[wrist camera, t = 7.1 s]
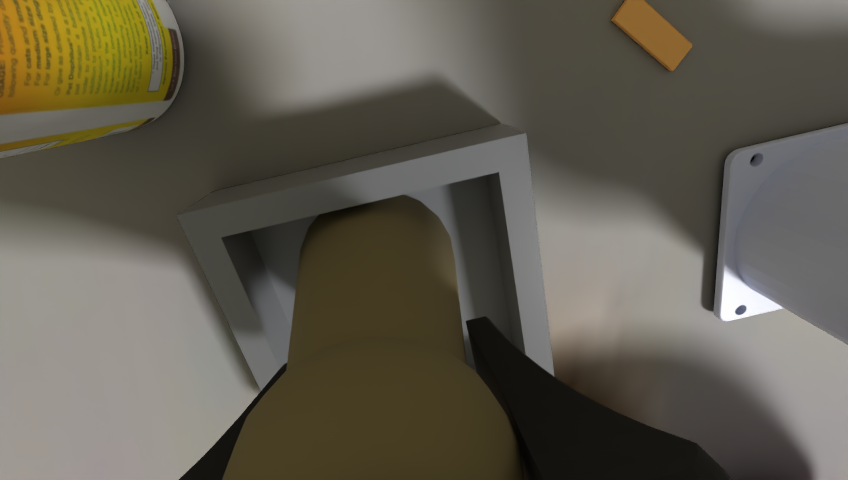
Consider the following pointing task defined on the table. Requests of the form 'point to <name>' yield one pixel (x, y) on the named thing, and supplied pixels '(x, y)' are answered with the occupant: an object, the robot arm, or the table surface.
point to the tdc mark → (652, 32)
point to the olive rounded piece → (377, 363)
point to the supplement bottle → (84, 69)
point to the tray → (367, 182)
